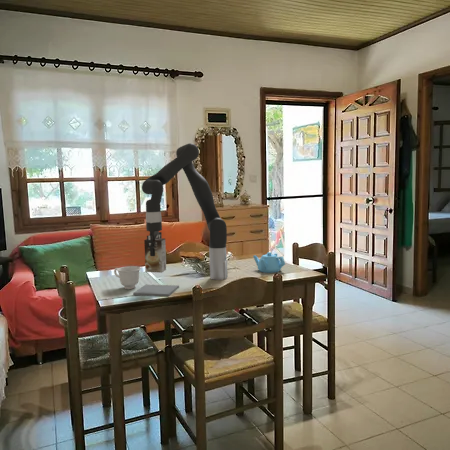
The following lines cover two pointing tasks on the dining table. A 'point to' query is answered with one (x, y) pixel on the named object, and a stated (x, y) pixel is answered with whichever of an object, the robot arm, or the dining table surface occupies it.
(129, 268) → the teacup
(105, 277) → the dining table surface
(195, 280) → the dining table surface
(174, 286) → the mat
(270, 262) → the teapot
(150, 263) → the coffee box
